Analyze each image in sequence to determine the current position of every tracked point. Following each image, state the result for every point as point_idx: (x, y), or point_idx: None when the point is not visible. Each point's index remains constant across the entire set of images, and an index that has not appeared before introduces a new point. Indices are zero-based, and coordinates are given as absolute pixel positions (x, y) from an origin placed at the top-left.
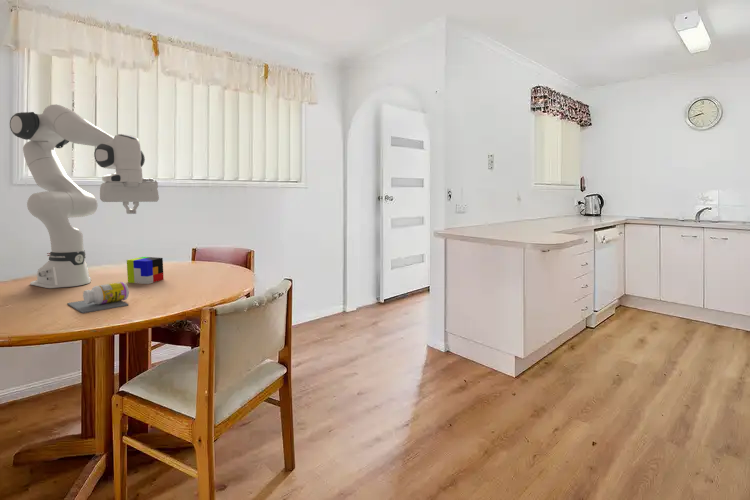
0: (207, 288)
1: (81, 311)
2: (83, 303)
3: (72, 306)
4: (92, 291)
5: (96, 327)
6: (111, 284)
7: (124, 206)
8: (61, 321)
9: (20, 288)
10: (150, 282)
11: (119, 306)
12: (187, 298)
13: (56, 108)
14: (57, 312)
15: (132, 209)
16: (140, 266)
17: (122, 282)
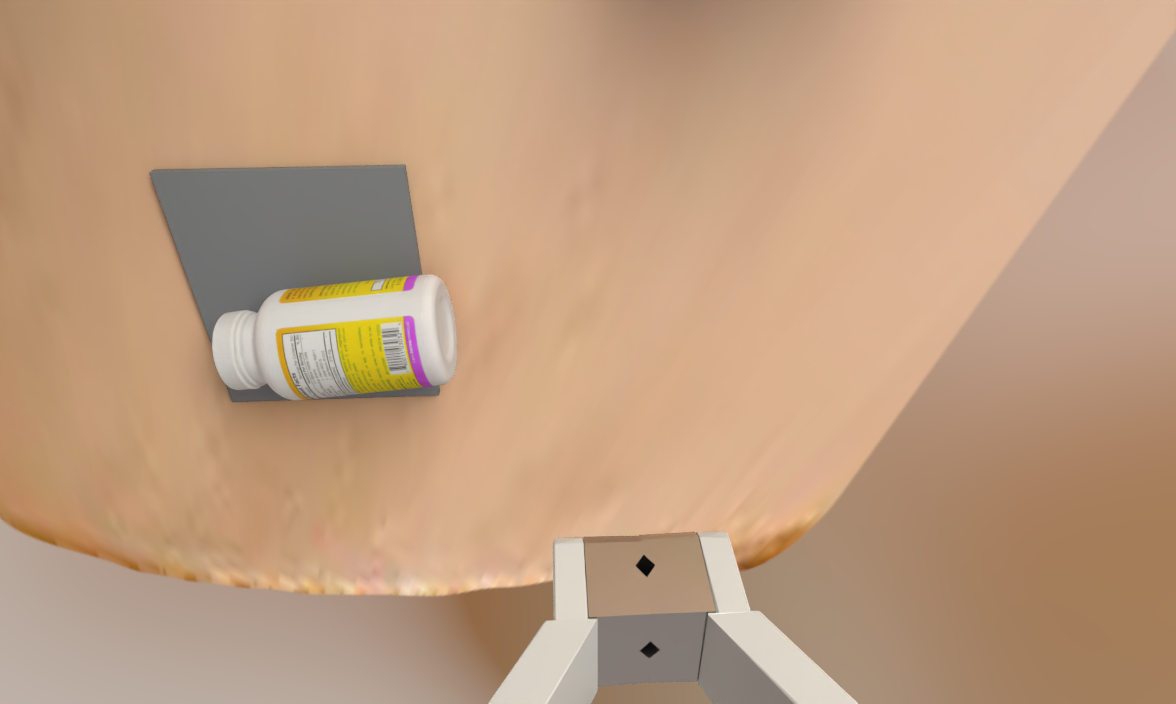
0: (918, 311)
1: (229, 393)
2: (238, 246)
3: (184, 265)
4: (257, 380)
5: (279, 580)
6: (357, 380)
7: (502, 701)
8: (157, 458)
9: None
10: None
11: (398, 393)
12: (704, 435)
13: None
14: (121, 312)
15: (653, 678)
16: None
17: (425, 366)
